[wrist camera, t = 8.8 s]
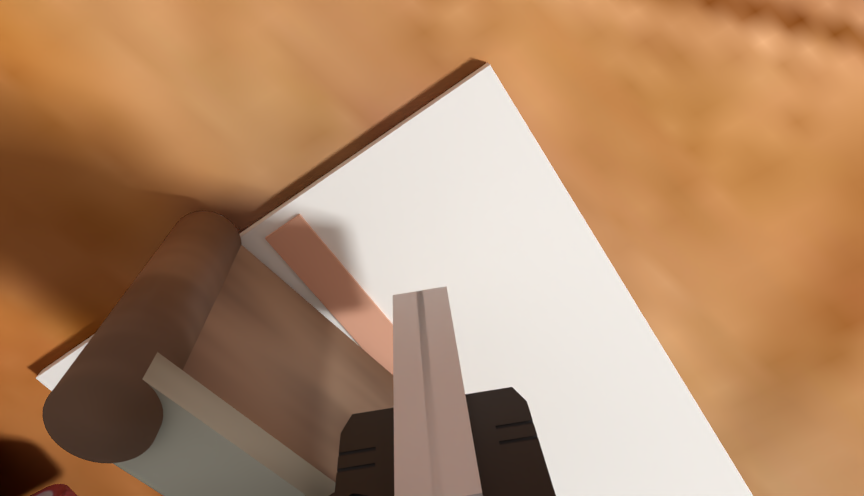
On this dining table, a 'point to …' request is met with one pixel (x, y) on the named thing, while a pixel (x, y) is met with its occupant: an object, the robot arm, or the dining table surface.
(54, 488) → the toy fire truck
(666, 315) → the dining table surface
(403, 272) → the card
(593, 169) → the dining table surface
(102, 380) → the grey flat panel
